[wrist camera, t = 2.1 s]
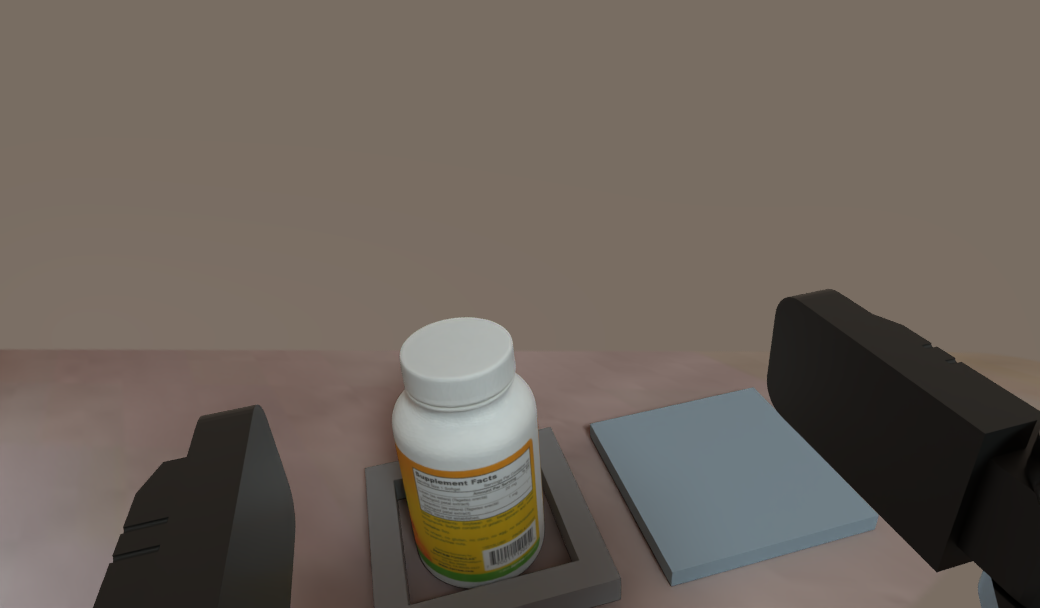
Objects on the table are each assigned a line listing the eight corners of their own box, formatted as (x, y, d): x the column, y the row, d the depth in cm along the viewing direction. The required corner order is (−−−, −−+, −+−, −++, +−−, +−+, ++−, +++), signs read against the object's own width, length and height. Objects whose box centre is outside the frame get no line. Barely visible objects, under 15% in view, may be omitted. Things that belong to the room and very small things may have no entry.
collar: (382, 666, 22) (376, 645, 22) (369, 487, 30) (364, 468, 29) (620, 599, 24) (620, 578, 24) (551, 445, 32) (550, 426, 31)
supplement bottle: (443, 482, 30) (413, 302, 25) (556, 499, 29) (547, 311, 24) (397, 580, 26) (349, 383, 21) (528, 605, 24) (510, 400, 19)
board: (671, 586, 24) (672, 572, 24) (590, 436, 32) (590, 423, 32) (874, 529, 26) (878, 515, 26) (751, 399, 34) (753, 387, 33)
